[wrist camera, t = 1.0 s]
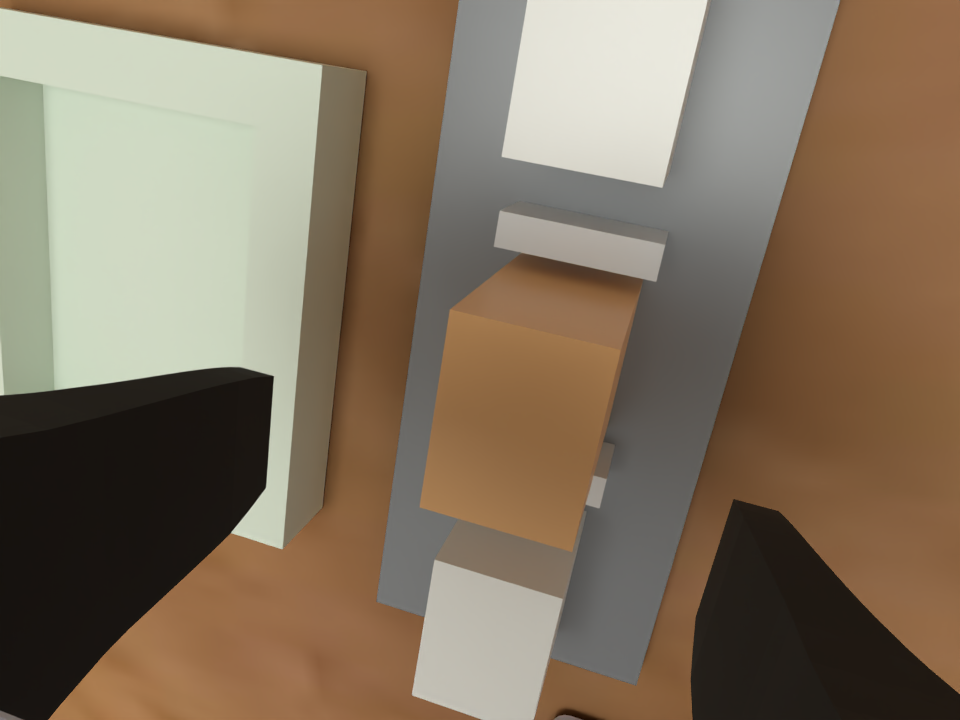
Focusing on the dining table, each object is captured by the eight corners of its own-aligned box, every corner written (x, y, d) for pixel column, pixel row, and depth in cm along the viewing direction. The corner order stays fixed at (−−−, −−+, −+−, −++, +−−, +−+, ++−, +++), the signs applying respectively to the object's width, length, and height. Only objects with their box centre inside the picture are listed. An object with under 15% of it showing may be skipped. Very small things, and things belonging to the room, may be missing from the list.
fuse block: (638, 662, 22) (623, 802, 18) (388, 583, 24) (316, 693, 19) (848, -50, 16) (912, -118, 11) (485, -95, 17) (410, -171, 13)
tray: (322, 507, 24) (282, 549, 21) (30, 419, 26) (-34, 449, 24) (366, 71, 19) (322, 65, 17) (9, 8, 21) (-73, -5, 19)
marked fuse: (606, 428, 19) (572, 552, 14) (495, 399, 20) (419, 507, 14) (643, 278, 18) (621, 349, 12) (522, 252, 19) (450, 309, 13)
